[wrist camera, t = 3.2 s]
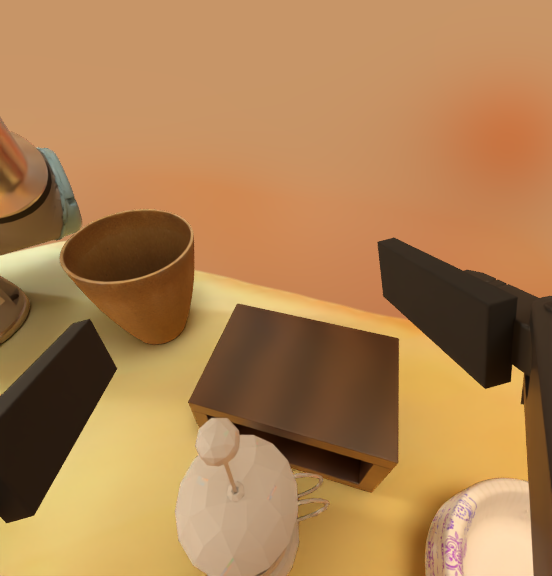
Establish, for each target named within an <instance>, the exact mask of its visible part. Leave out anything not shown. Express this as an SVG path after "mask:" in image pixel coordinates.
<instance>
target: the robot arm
mask: <svg viewBox="0 0 552 576" xmlns="http://www.w3.org/2000/svg"><path fill="white" fill-rule="evenodd" d="M81 226H82V218H81V214H80V211H79V207H78V205H77V202H76V200H75V199H74V194H73V191H72V188H71V186H70V183H69V181H68V178H67V176H66V174H65V171H64V169H63V167H62V165H61V163H60V161H59V159H58V157H57V156H56V154H55V153H54V152H53V151H52V150H50V149H48V148H39V147H38V148H36V147H35V146H34V145H33V144H32V143H30V142H29V141H28V140H27V139H25V138H23V137H22V136H20V135H18V134H16V133H14V132H11V131H9V130H8V128H7V127H6V125H5V124H4V122H3V121H2V119H1V118H0V255H4V254H7V253H11V252H14V251H17V250H21V249H24V248H28V247H30V246H34V245H38V244H41V243H45V242H48V241H51V240H60V239H62V238H63V237H64V236H67V235H70V234H73V233H76V232H77V231H78V230H80V228H81ZM378 251H379V261H380V270H381V279H382V288H383V296H384V297H385V298H386V299H387V300H388V301H389V302H390V303H391V304H392V305H394V306H395V307H396V308H397V309H398V310H399V311H400V312H401V313H402V314H403V315H405V316H406V317H407V318H408V319H409V320H410V321H411V322H412V323H413V324H414V325H415V326H417V327H418V328H419V329H420V330H421V331H422V332H423V333H424V334H425V335H426V336H428V337H429V338H430V339H431V340H432V341H433V342H434V343H435V344H436V345H438V346H439V347H440V348H441V349H442V350H443V351H444V352H445V353H446V354H447V355H449V356H450V357H451V358H452V359H453V360H454V361H455V362H456V363H457V364H458V365H460V366H461V367H462V368H463V369H464V370H465V371H466V372H467V373H468V374H469V375H471V376H472V377H473V378H474V379H475V380H476V381H477V382H478V383H479V384H480V385H482V386H483V387H484V388H485V389H486V388H490V387H494V386H497V385H501V384H504V383H508V382H511V371H512V364H513V365H514V366H515V367H517V368H518V369H519V370H521V371H522V372H524V379H523V389H522V398H521V404H524V409H525V427H526V446H527V464H528V483H529V501H530V519H531V538H532V556H533V575H534V576H552V296H548V297H542V298H538V297H536V296H533V295H531V294H529V293H527V292H524V291H522V290H520V289H518V288H516V287H513V286H511V285H509V284H508V285H506V283H504V282H502V281H500V280H496V278H493V277H491V276H489V275H487V274H484V273H480V272H476V271H471V270H465V271H462V270H460V269H458V268H456V267H454V266H452V265H450V264H448V263H446V262H443V261H442V260H439V259H437V258H435V257H433V256H431V255H429V254H427V253H425V252H423V251H421V250H419V249H416V248H414V247H412V246H410V245H408V244H406V243H404V242H402V241H400V240H398V239H396V238H391V239H387V240H383V241H379V242H378ZM29 310H30V302H29V299H28V297H27V296H26V295H25V293H24V292H23V291H22V290H21V289H20V288H19V287H18V286H16V285H15V284H13V283H12V282H10V281H8V280H7V279H5V278H3V277H1V276H0V344H1V343H3V342H4V341H6V340H7V339H8V338H9V337H10V336H12V335H13V334H14V333H15V332H16V331H17V330H18V329H19V328H20V326H21V325H22V324H23V323H24V321H25V319H26V318H27V316H28V313H29ZM116 370H117V368H116V366H115V364H114V362H113V360H112V358H111V357H110V355H109V353H108V351H107V349H106V347H105V346H104V344H103V342H102V340H101V338H100V336H99V335H98V333H97V331H96V329H95V327H94V325H93V324H92V322H91V320H90V319H88V320H84V321H81V322H77V323H73V324H72V325H71V326H70V327H69V328H68V329H67V330H66V331H65V332H64V333H63V334H62V335H61V336H60V337H59V338H58V339H57V340H56V341H55V342H54V343H53V344H52V345H51V346H50V347H49V348H48V349H47V350H46V351H45V352H44V353H43V354H42V355H41V356H40V357H39V358H38V359H37V360H36V361H35V362H34V363H33V364H32V365H31V366H30V367H29V368H28V369H27V370H26V371H25V372H24V373H23V374H22V375H21V376H20V377H19V378H18V379H17V380H16V381H15V382H14V383H13V384H12V385H11V386H10V387H9V388H8V389H7V390H6V391H5V392H4V393H3V394H2V395H1V396H0V517H1V518H2V519H3V520H4V521H5V522H6V523H10V522H13V521H17V520H20V519H24V518H27V517H31V516H34V515H35V513H36V511H37V509H38V508H39V506H40V504H41V502H42V500H43V499H44V497H45V495H46V493H47V492H48V490H49V488H50V486H51V485H52V483H53V481H54V479H55V478H56V476H57V474H58V472H59V470H60V469H61V467H62V465H63V463H64V462H65V460H66V458H67V456H68V455H69V453H70V451H71V449H72V447H73V446H74V444H75V442H76V440H77V439H78V437H79V435H80V433H81V432H82V430H83V428H84V426H85V425H86V423H87V421H88V419H89V417H90V416H91V414H92V412H93V410H94V409H95V407H96V405H97V403H98V402H99V400H100V398H101V396H102V395H103V393H104V391H105V389H106V387H107V386H108V384H109V382H110V380H111V379H112V377H113V375H114V373H115V372H116Z"/></svg>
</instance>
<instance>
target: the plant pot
mask: <svg viewBox="0 0 552 576" xmlns="http://www.w3.org/2000/svg"><path fill="white" fill-rule="evenodd" d="M60 263H61V266H62V268H63V269H64V271H65V272H66V273H67V274H68V276H69V277H70V278H71V279H72V280H73V281H74V283H75V284H76V285H77V286H78V287H79V288H80V289H81V291H82V292H83V293H84V294H85V295H86V296H87V297H88V298H89V299H90V300H91V301H92V302H93V303H94V304H95V305H96V306H97V307H98V308H99V309H100V310H101V311H102V312H103V313H105V314H106V315H107V316H108V317H109V318H110V319H111V320H113V321H114V322H115V323H116V324H118V325H119V326H120V327H122V328H123V329H124V330H126V331H127V332H128V333H130V334H131V335H133V336H135V337H136V338H138V339H139V340H141V341H143V342H145V343H148V344H163V343H166V342H169V341H171V340H173V339H175V338H176V337H177V336H179V335H180V334H181V332H182V331H183V329H184V328H185V325H186V322H187V318H188V314H189V310H190V305H191V299H192V292H193V282H194V236H193V230H192V227H191V225H190V224H189V223H188V222H187V221H186V220H185V219H184V218H182V217H181V216H179V215H176V214H174V213H171V212H167V211H163V210H154V209H139V210H129V211H124V212H119V213H116V214H111V215H109V216H105V217H103V218H100V219H98V220H95V221H93V222H91V223H89V224H88V225H86V226H84V227H83V228H81V229H80V230H78V231H77V232H76V233H74V234H73V235H72V236H71V237H70V238H69V239H68V240H67V241H66V243H65V244H64V246H63V248H62V250H61V253H60Z"/></svg>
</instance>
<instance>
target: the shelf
mask: <svg viewBox="0 0 552 576" xmlns="http://www.w3.org/2000/svg"><path fill="white" fill-rule="evenodd" d="M398 392H399V339H398V338H394V337H389V336H385V335H380V334H376V333H371V332H366V331H362V330H357V329H353V328H348V327H343V326H339V325H334V324H330V323H325V322H320V321H316V320H311V319H307V318H302V317H297V316H293V315H288V314H284V313H279V312H274V311H270V310H265V309H260V308H256V307H251V306H247V305H242V304H237V305H236V307H235V309H234V311H233V313H232V315H231V317H230V319H229V321H228V323H227V325H226V327H225V329H224V331H223V333H222V335H221V337H220V339H219V341H218V343H217V345H216V347H215V349H214V351H213V353H212V355H211V357H210V359H209V361H208V363H207V365H206V367H205V369H204V371H203V374H202V376H201V378H200V380H199V382H198V384H197V386H196V388H195V390H194V392H193V394H192V396H191V398H190V400H189V402H188V403H189V405H190V407H191V410H192V412H193V415H194V417H195V419H196V422H197V424H198V426H199V428H200V427H202V426H203V425H204V424H205V423H206V422H207V421H209V420H210V419H211V418H228V419H229V420H230V421H231V422H232V423H233V425H234V426H235V427H236V428H237V429H238V430H239V435H255V436H257V437H259V438H261V439H263V440H266V441H268V442H270V443H272V444H273V445H274V446H275V447H276V448H277V449H278V450H279V451H280V452H281V453H282V455H283V456H284V457H285V458H286V459H287V460H288V462H289V465H290V467H291V468H294V469H297V470H300V471H303V472H307V473H312V474H317V475H320V476H322V477H323V478H326V479H329V480H332V481H335V482H339V483H342V484H345V485H348V486H351V487H355V488H358V489H361V490H364V491H367V492H370V493H372V492H373V491H374V489H375V488H376V487H377V486H378V485H379V484H380V483H381V482H382V481H383V479H384V478H385V477H386V476H387V475H388V474H389V473H390V472H391V471H392V469H393V468H394V467H395V466H396V465H397V464H398Z"/></svg>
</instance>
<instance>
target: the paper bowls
mask: <svg viewBox="0 0 552 576" xmlns="http://www.w3.org/2000/svg"><path fill="white" fill-rule="evenodd" d="M425 574H426V576H534V575H533V556H532V538H531V519H530V501H529V483H528V481H524V480H519V479H513V478H495V479H489V480H485V481H481V482H479V483H476V484H474V485H472V486H471V487H468V488H466V489H464V490H463V491H461V492H459V493H457V494H456V495H454V496H453V497H452V498H450V499H449V500H448V501H447V502H445V503H444V504H443V505H442V506H441V508H440V509H439V510H438V512H437V513H436V515H435V517H434V519H433V521H432V523H431V525H430V528H429V532H428V536H427V540H426V548H425Z"/></svg>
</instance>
